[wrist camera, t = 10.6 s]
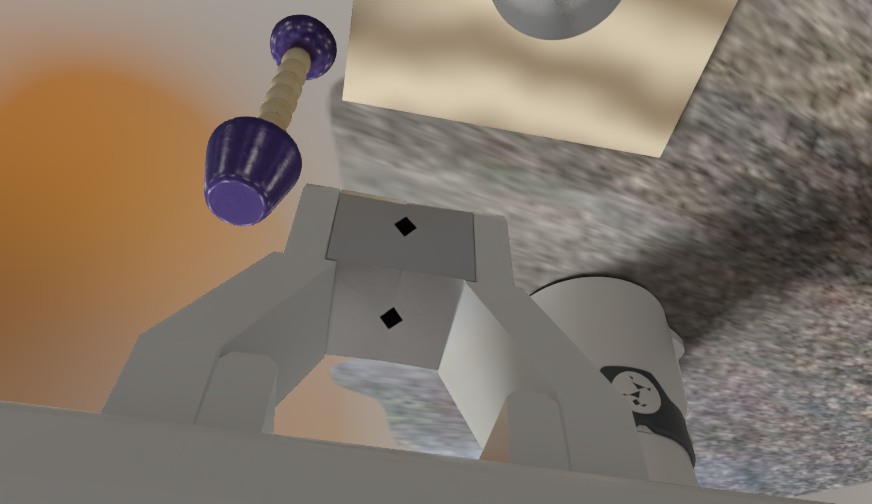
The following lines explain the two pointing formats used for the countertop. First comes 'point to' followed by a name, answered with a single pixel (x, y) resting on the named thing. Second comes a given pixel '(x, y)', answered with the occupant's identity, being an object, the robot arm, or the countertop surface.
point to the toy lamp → (266, 129)
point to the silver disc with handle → (554, 16)
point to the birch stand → (536, 68)
